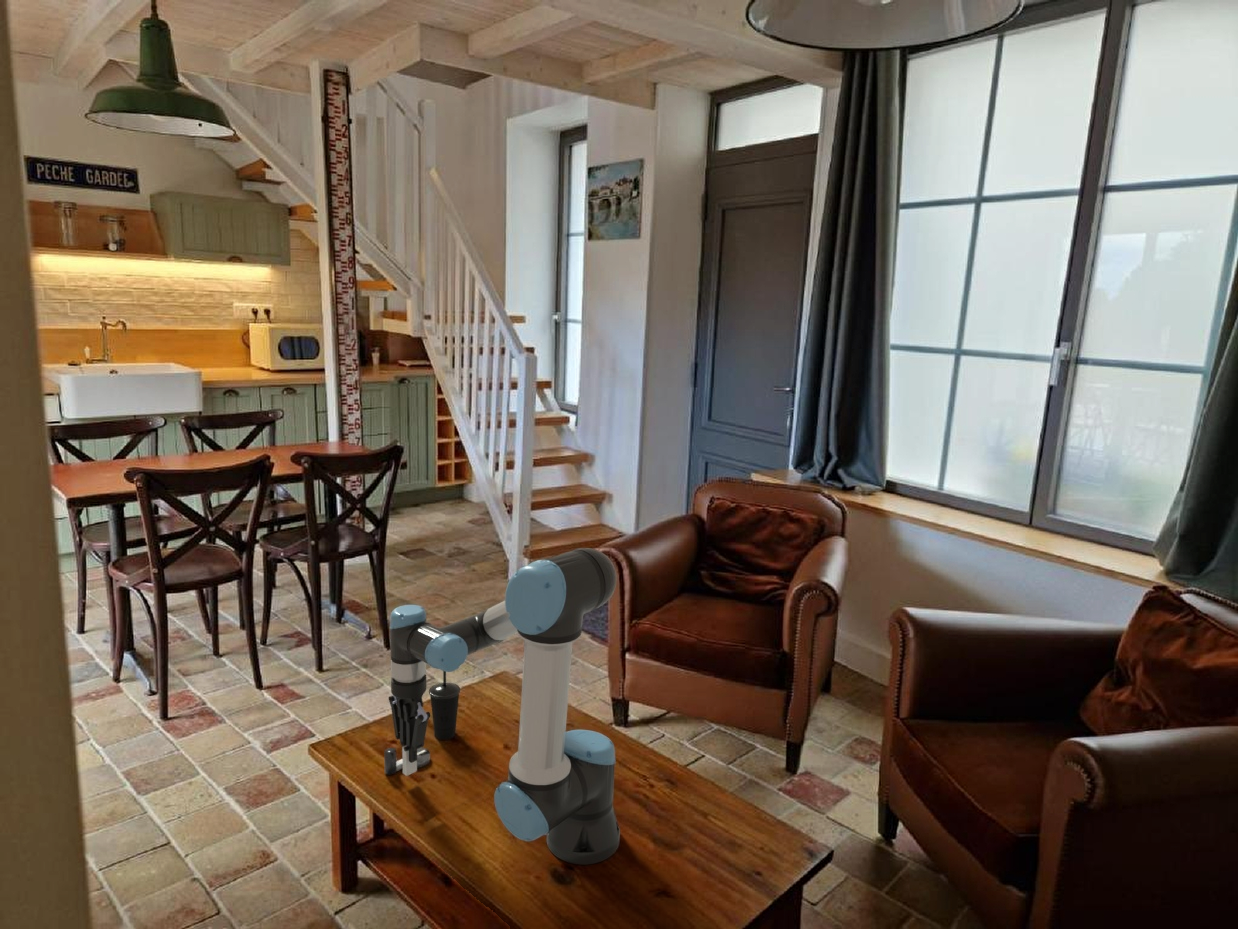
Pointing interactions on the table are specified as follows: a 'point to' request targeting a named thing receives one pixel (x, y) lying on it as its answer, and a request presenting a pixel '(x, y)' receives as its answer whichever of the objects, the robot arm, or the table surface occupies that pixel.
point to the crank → (394, 765)
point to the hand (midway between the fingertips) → (409, 772)
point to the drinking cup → (444, 708)
